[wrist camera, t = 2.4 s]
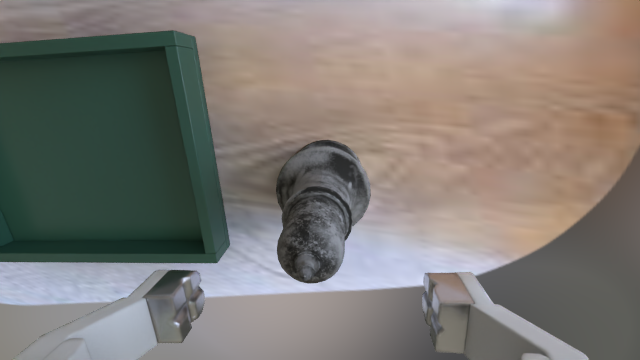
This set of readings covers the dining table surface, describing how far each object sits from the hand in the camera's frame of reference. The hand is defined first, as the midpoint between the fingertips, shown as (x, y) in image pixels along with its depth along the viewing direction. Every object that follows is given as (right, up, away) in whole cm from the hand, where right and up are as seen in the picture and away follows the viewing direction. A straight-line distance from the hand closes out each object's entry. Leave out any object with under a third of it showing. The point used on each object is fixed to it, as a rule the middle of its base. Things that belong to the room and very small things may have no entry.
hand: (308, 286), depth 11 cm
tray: (-17, +6, +12) cm, 22 cm away
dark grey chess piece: (+1, +4, +11) cm, 12 cm away
